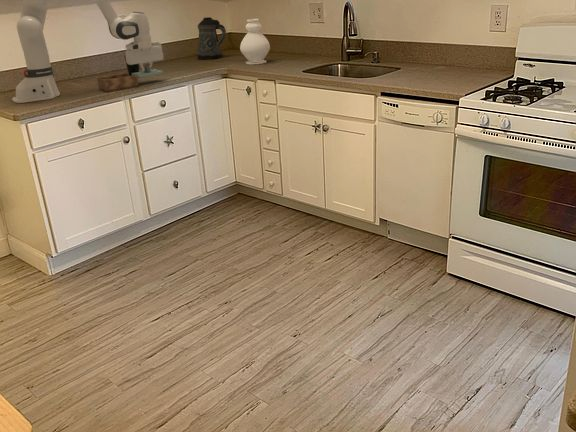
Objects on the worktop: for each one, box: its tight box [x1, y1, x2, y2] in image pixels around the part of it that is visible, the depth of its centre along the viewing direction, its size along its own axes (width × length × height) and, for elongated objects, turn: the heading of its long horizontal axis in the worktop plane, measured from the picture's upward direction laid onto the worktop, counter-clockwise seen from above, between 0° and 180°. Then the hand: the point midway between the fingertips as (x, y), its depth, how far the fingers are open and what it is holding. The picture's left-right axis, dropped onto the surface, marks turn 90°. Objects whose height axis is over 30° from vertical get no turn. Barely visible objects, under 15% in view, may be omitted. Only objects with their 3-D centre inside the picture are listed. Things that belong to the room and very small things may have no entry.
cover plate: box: [132, 65, 164, 78], centre depth 315 cm, size 14×8×4 cm, turn 128°
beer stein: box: [196, 16, 227, 61], centre depth 382 cm, size 16×19×25 cm
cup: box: [124, 54, 140, 76], centre depth 334 cm, size 8×8×12 cm
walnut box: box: [96, 72, 139, 93], centre depth 307 cm, size 17×11×6 cm, turn 128°
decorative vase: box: [239, 18, 271, 65], centre depth 355 cm, size 18×18×25 cm
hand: (146, 70), depth 315 cm, fingers closed on cover plate, 2 cm apart
